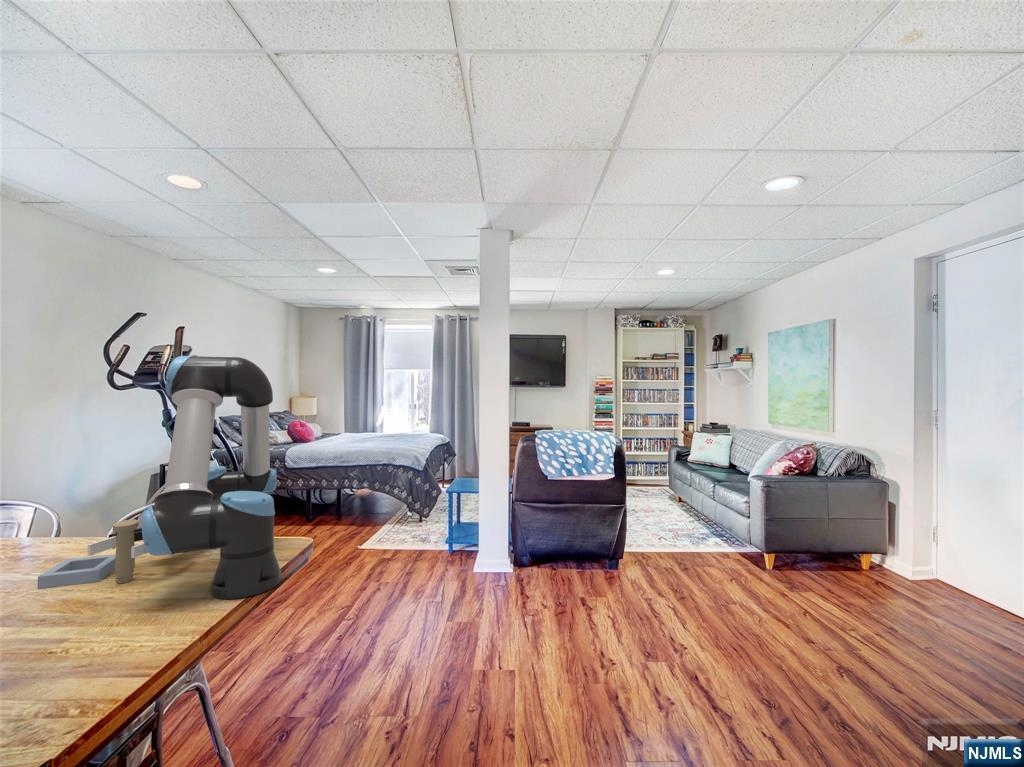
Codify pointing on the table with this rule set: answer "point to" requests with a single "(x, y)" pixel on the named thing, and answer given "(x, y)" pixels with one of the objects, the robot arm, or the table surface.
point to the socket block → (77, 571)
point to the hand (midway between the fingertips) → (110, 551)
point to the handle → (124, 550)
